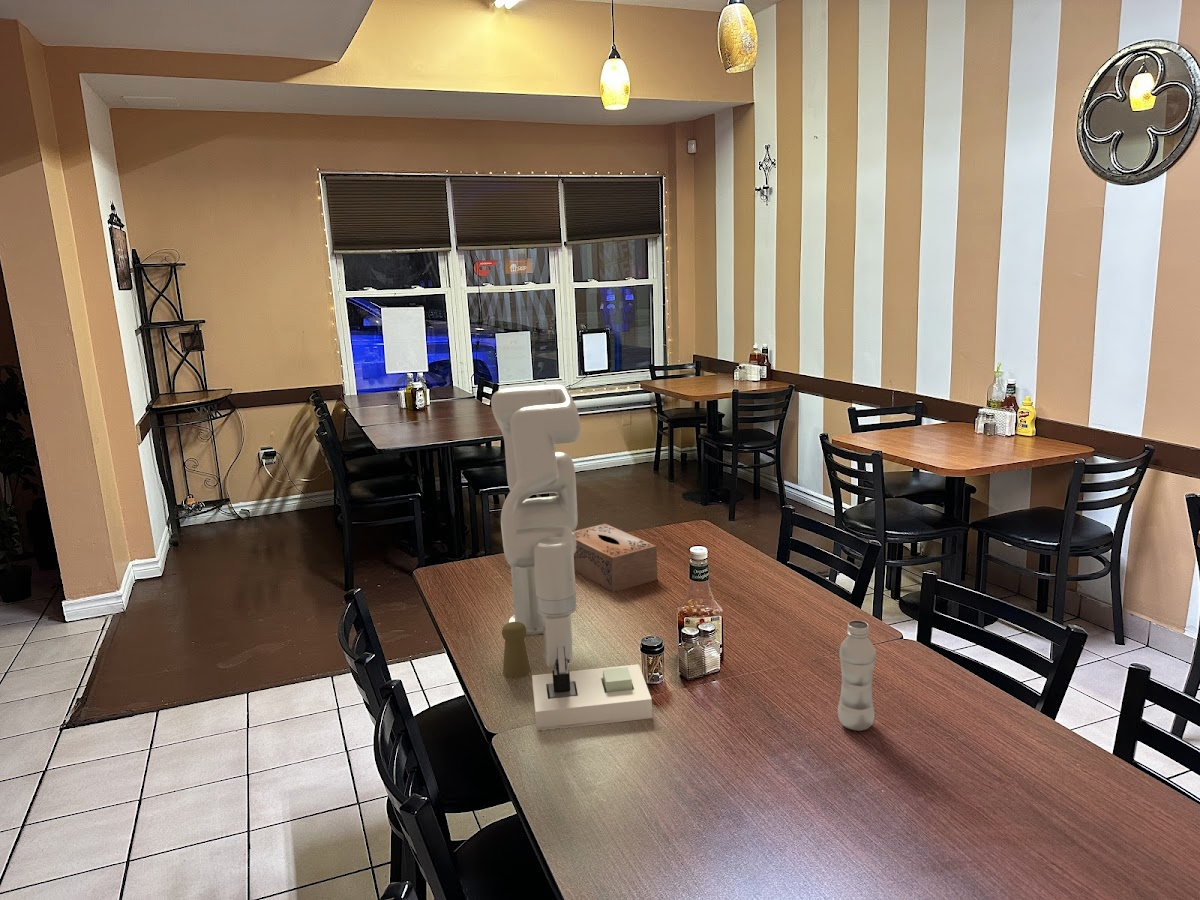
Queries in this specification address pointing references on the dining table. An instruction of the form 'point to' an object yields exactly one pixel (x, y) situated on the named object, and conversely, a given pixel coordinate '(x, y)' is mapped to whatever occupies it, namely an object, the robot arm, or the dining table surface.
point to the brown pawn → (515, 651)
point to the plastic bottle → (857, 678)
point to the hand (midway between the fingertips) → (562, 689)
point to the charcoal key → (561, 694)
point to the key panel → (590, 700)
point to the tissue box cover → (614, 557)
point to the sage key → (617, 680)
